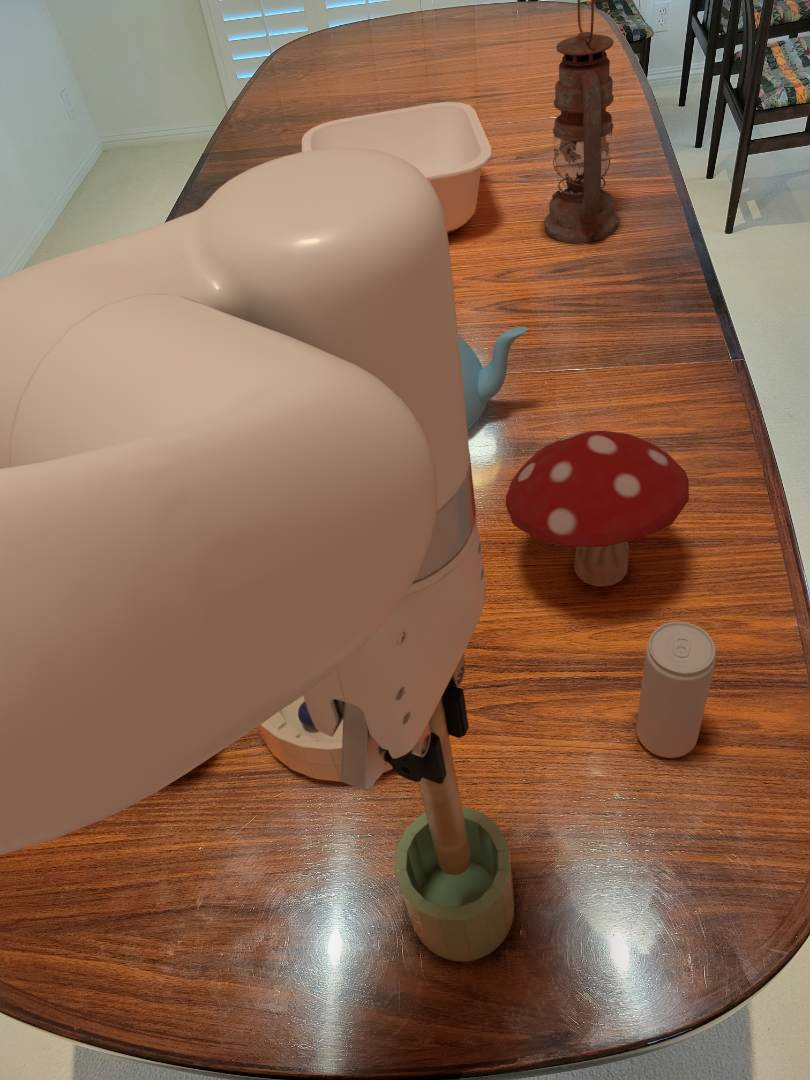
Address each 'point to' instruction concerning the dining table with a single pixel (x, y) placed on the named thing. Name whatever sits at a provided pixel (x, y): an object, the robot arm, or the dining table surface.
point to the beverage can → (674, 688)
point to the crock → (457, 890)
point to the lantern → (582, 140)
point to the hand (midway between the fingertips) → (429, 746)
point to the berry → (305, 716)
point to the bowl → (304, 745)
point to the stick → (446, 807)
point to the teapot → (484, 373)
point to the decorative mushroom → (597, 498)
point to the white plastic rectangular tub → (421, 148)
